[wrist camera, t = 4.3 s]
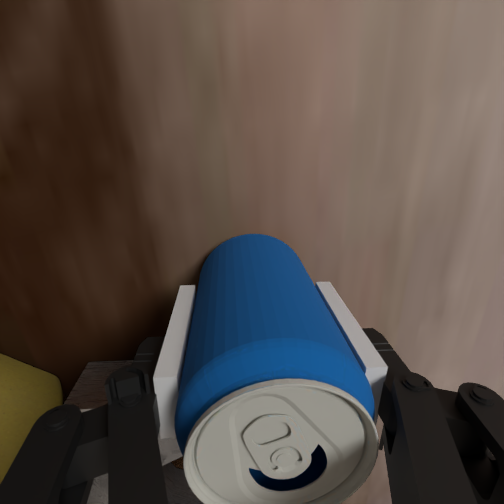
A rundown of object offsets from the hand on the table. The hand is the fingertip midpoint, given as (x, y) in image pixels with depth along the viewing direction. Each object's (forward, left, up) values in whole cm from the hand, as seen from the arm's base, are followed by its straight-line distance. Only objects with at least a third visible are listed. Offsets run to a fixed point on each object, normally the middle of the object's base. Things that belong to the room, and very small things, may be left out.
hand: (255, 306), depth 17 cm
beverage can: (0, 0, -4) cm, 4 cm away
